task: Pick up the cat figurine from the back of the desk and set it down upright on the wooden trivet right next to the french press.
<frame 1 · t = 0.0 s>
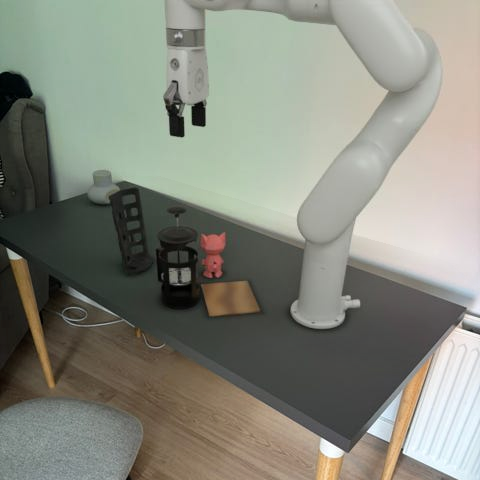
hand: (188, 131, 108), 37 cm above the table, tool pointing down, fingers open, 9 cm apart
wooden trivet: (229, 298, 123), on the table
cat figurine: (213, 275, 133), on the table
holder: (134, 266, 136), on the table
air freshener: (105, 202, 172), on the table
french press: (178, 298, 123), on the table
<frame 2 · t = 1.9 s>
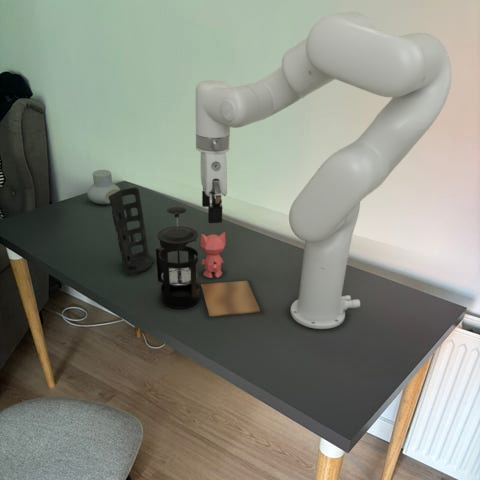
hand: (211, 214, 123), 17 cm above the table, tool pointing down, fingers open, 9 cm apart
nothing on the table moved.
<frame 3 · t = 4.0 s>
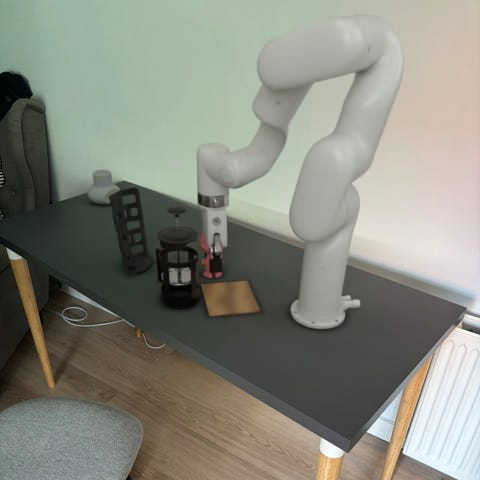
hand: (213, 264, 131), 3 cm above the table, tool pointing down, fingers closed on cat figurine, 6 cm apart
cat figurine: (213, 275, 133), on the table, touching gripper
everything else where it was.
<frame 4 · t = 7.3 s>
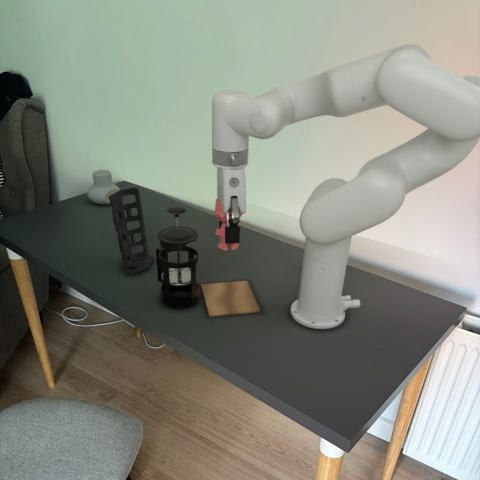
hand: (229, 235, 115), 16 cm above the table, tool pointing down, fingers closed on cat figurine, 6 cm apart
cat figurine: (228, 248, 117), point 13 cm above the table, touching gripper
everything else where it was.
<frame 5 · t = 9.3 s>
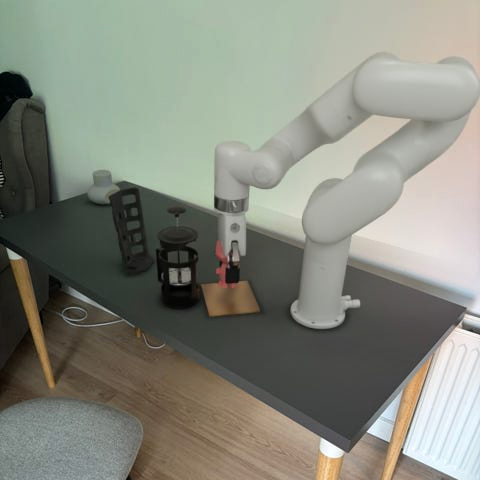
hand: (229, 274, 120), 7 cm above the table, tool pointing down, fingers closed on cat figurine, 6 cm apart
cat figurine: (228, 286, 122), point 3 cm above the table, touching gripper
everything else where it was.
when the fingers open (4 cm above the table, at t = 10.7 s): cat figurine stays where it is, resting on wooden trivet.
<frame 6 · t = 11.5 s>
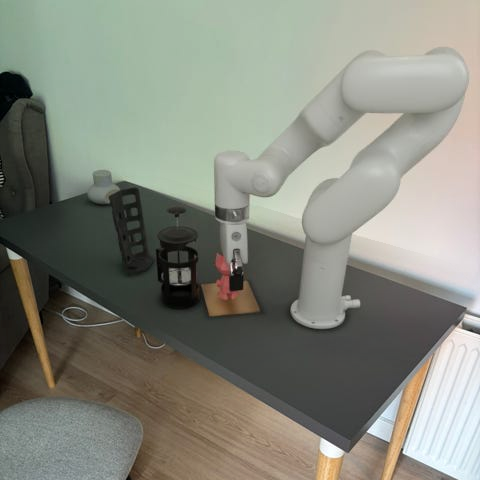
hand: (232, 279, 120), 5 cm above the table, tool pointing down, fingers open, 9 cm apart
cat figurine: (228, 297, 123), resting on wooden trivet
everything else where it was.
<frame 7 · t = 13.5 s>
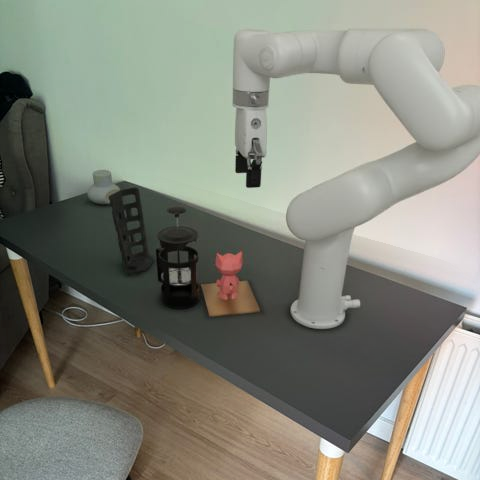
hand: (247, 179, 115), 27 cm above the table, tool pointing down, fingers open, 9 cm apart
nothing on the table moved.
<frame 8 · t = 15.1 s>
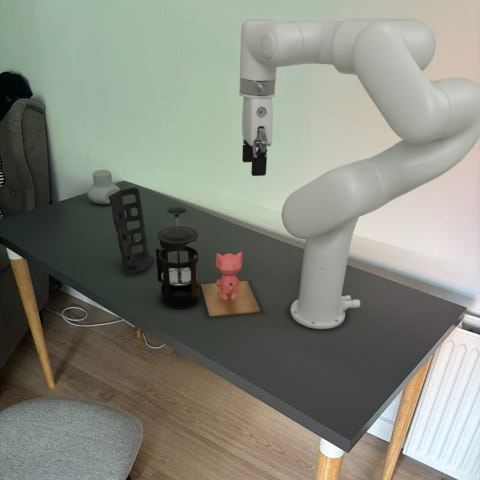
hand: (253, 168, 117), 28 cm above the table, tool pointing down, fingers open, 9 cm apart
nothing on the table moved.
at the end: cat figurine inside the target area on the wooden trivet (0.3 cm from its centre), point 0.3 cm above the wooden trivet's base; cat figurine 12.0 cm from the french press (horizontally); cat figurine tilted 0° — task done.
